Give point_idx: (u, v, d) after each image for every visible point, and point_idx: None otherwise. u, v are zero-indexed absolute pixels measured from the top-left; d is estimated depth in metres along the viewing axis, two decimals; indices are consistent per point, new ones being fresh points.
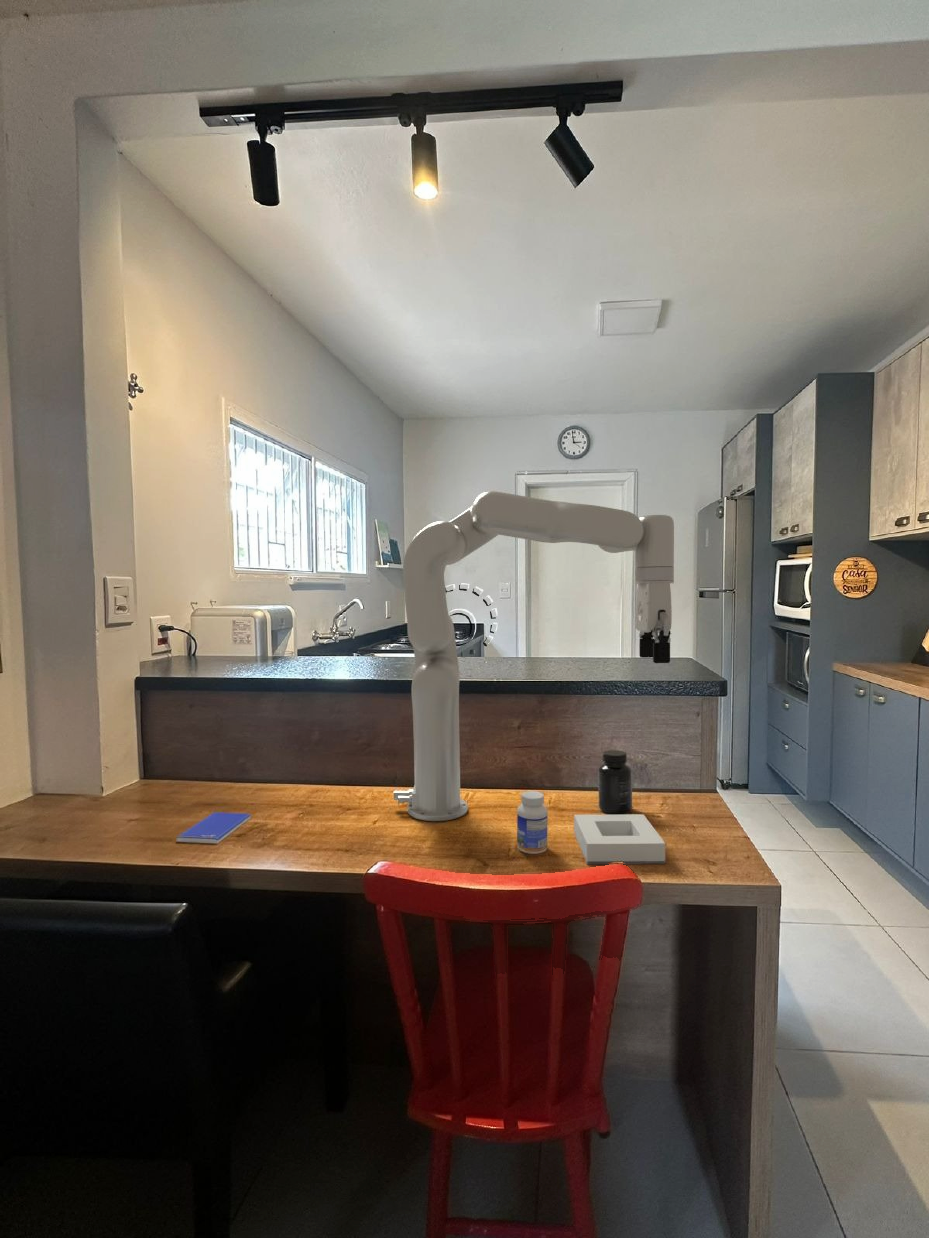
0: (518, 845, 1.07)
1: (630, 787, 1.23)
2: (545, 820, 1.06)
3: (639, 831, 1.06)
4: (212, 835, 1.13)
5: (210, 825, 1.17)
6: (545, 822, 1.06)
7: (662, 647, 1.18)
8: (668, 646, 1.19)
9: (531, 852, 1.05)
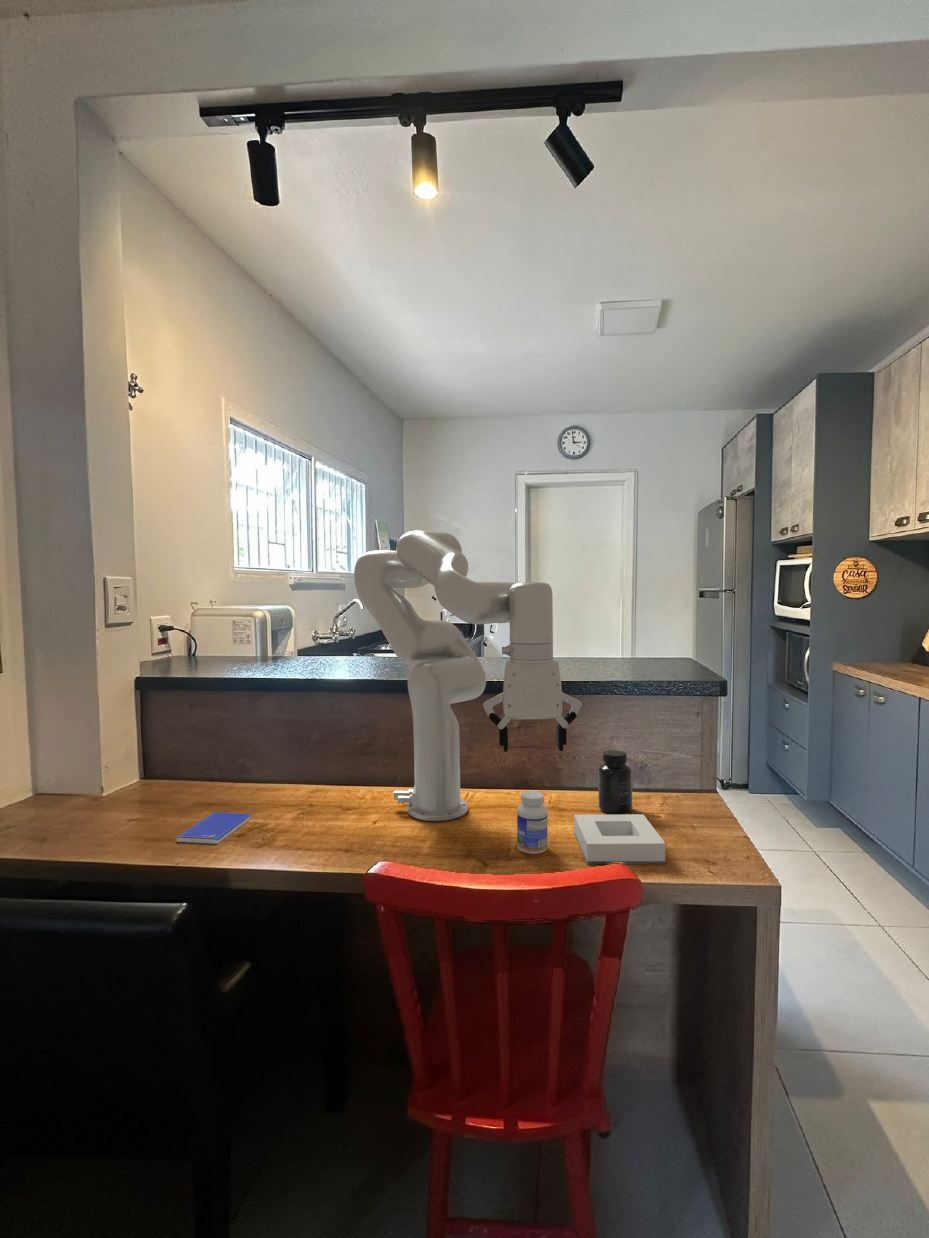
0: (518, 845, 1.07)
1: (630, 787, 1.23)
2: (545, 820, 1.06)
3: (639, 831, 1.06)
4: (212, 835, 1.13)
5: (210, 825, 1.17)
6: (545, 822, 1.06)
7: None
8: None
9: (531, 852, 1.05)
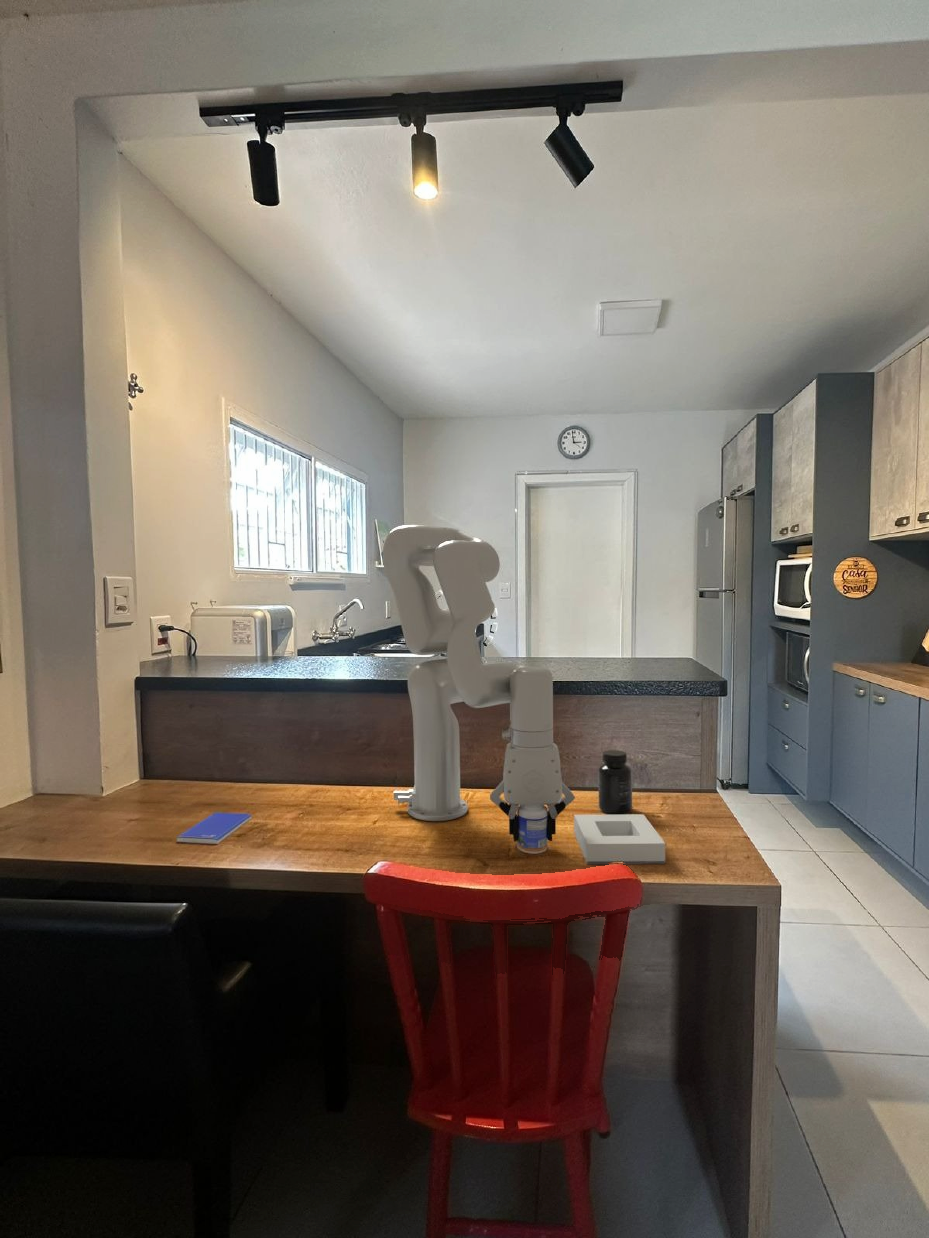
0: (518, 845, 1.07)
1: (630, 787, 1.23)
2: (545, 820, 1.06)
3: (639, 831, 1.06)
4: (212, 835, 1.13)
5: (210, 825, 1.17)
6: (545, 822, 1.06)
7: None
8: None
9: (531, 852, 1.05)
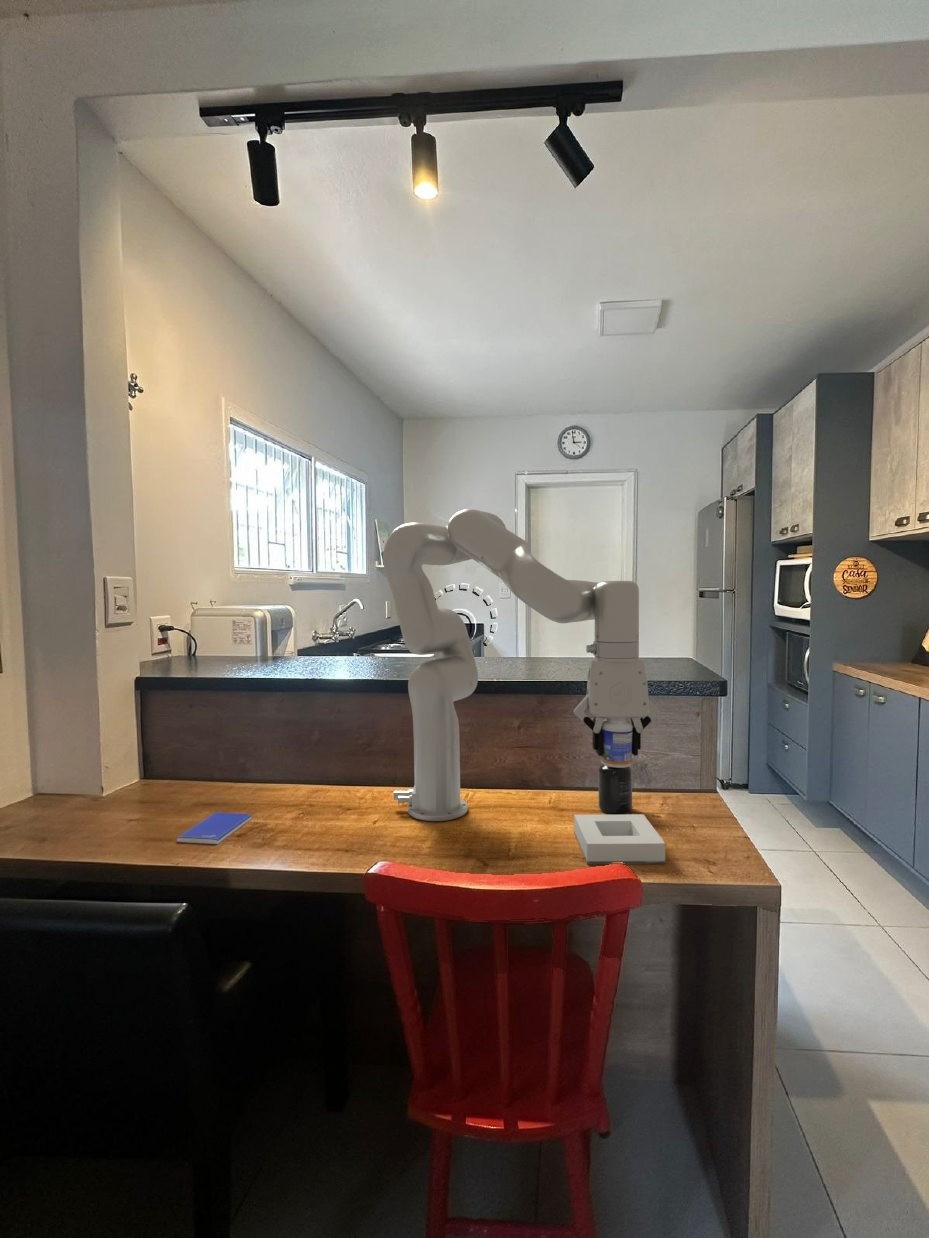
0: (603, 760, 1.06)
1: (630, 787, 1.23)
2: (631, 734, 1.05)
3: (639, 831, 1.06)
4: (212, 835, 1.12)
5: (210, 825, 1.17)
6: (631, 736, 1.05)
7: None
8: None
9: (617, 766, 1.04)
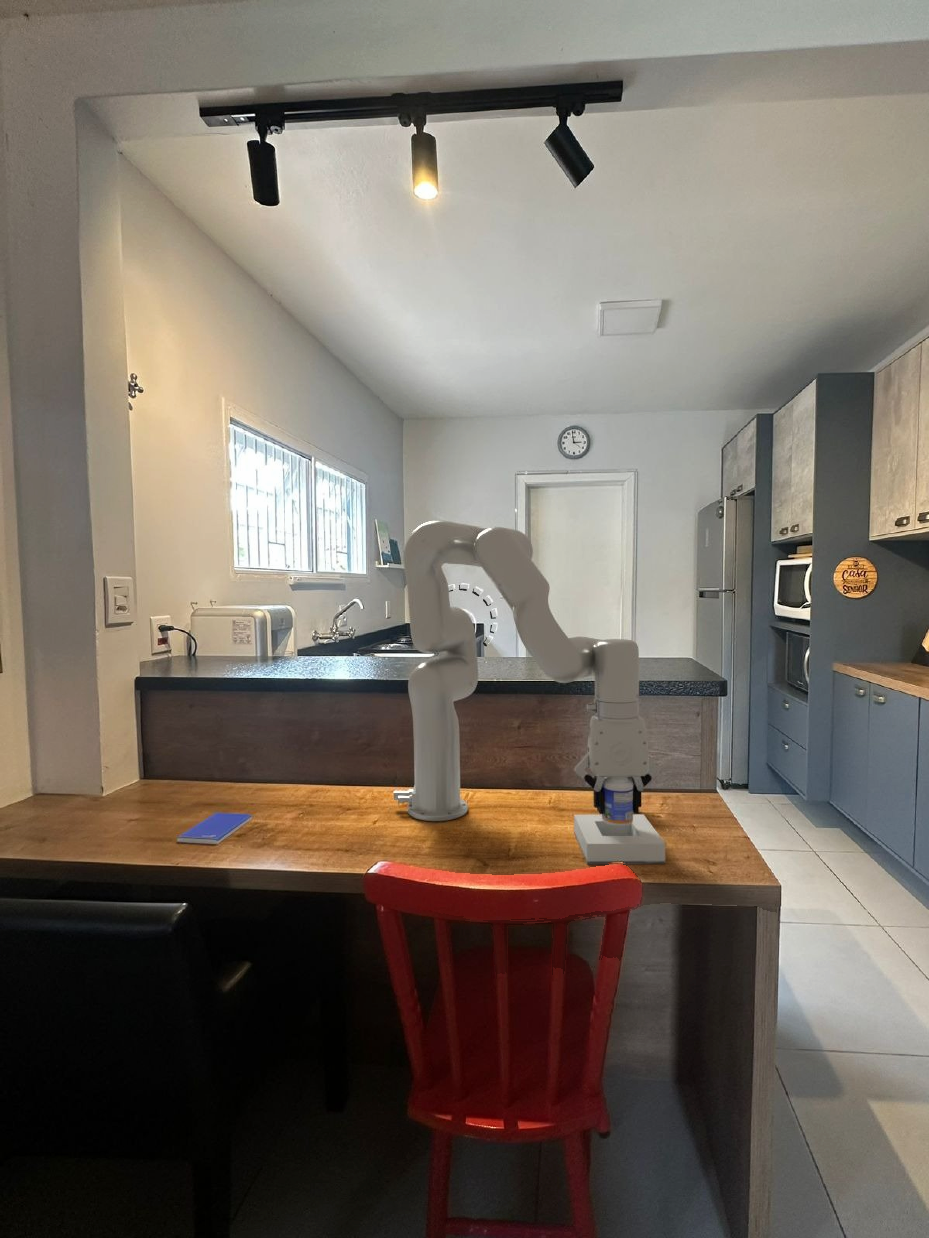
0: (604, 818, 1.06)
1: None
2: (632, 792, 1.05)
3: (639, 831, 1.06)
4: (212, 835, 1.12)
5: (211, 825, 1.17)
6: (632, 794, 1.05)
7: None
8: None
9: (618, 824, 1.04)
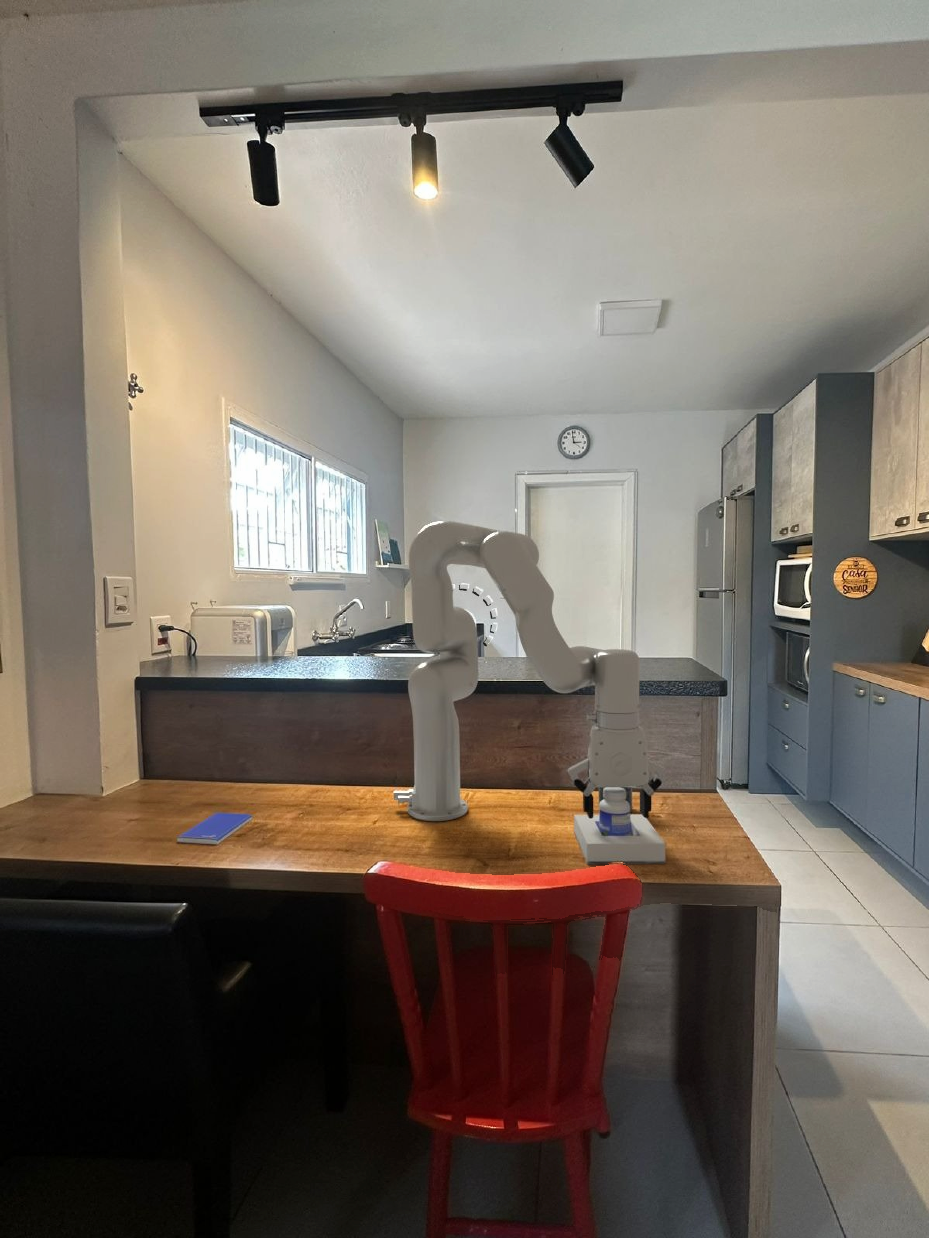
0: None
1: (630, 787, 1.23)
2: (629, 814, 1.06)
3: (639, 831, 1.06)
4: (212, 835, 1.12)
5: (211, 825, 1.17)
6: (629, 817, 1.06)
7: None
8: None
9: None
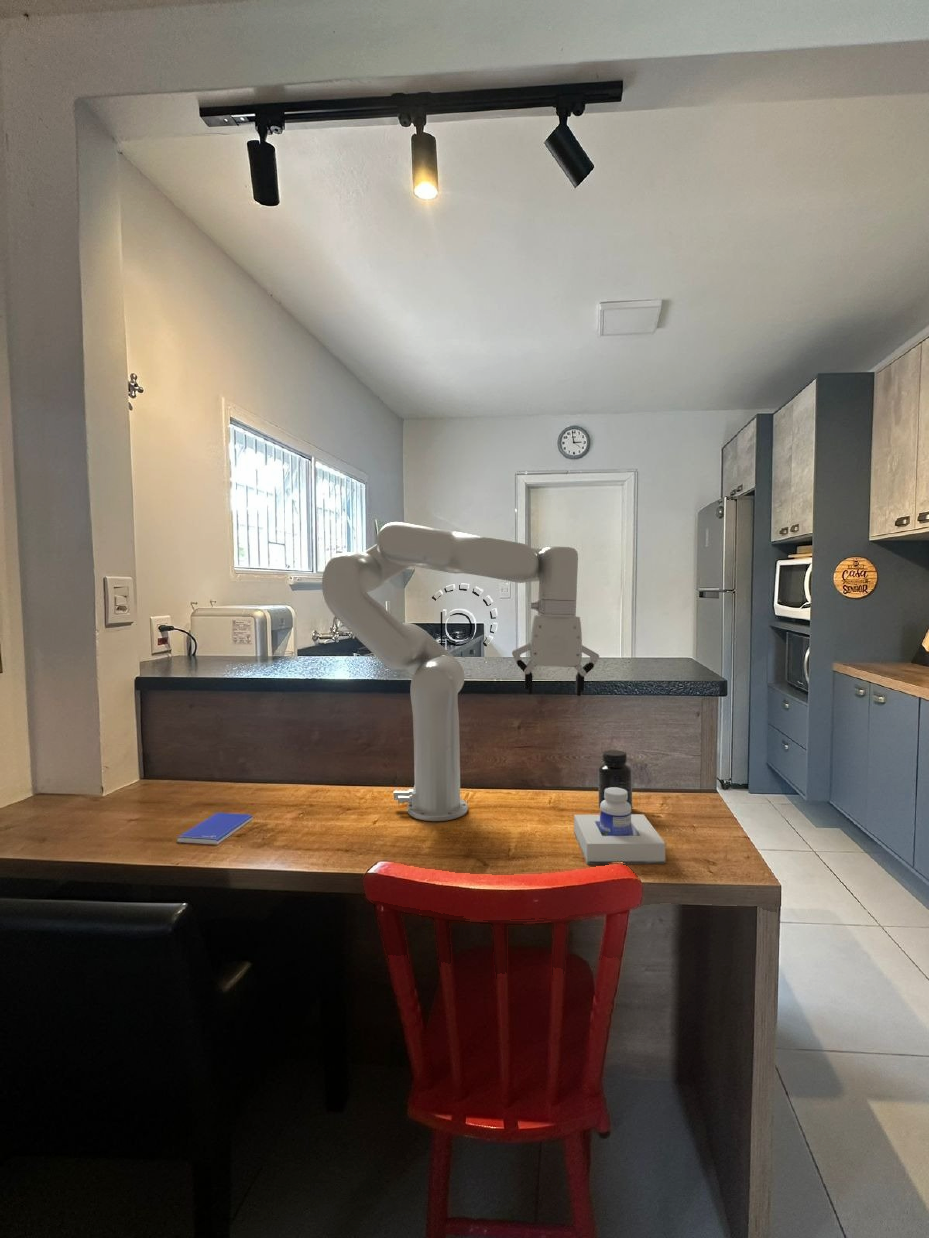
0: None
1: (630, 787, 1.23)
2: (630, 816, 1.06)
3: (639, 831, 1.06)
4: (212, 835, 1.12)
5: (211, 825, 1.17)
6: (630, 818, 1.06)
7: None
8: None
9: None
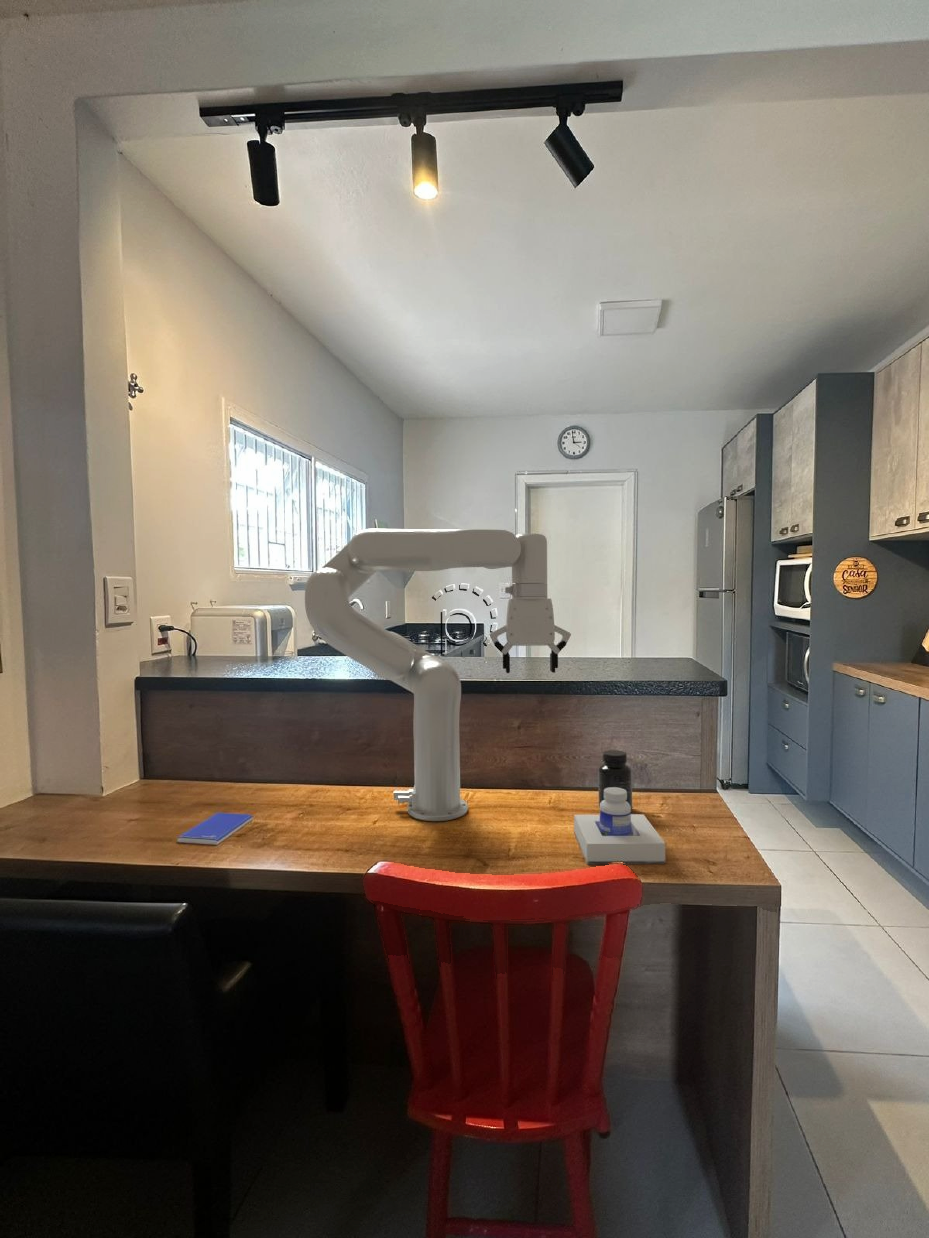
0: None
1: (630, 787, 1.23)
2: (629, 815, 1.06)
3: (639, 831, 1.06)
4: (212, 835, 1.12)
5: (211, 825, 1.17)
6: (629, 817, 1.06)
7: None
8: None
9: None
